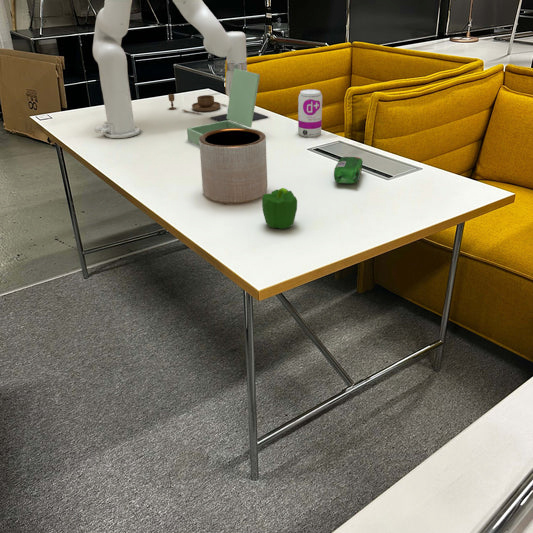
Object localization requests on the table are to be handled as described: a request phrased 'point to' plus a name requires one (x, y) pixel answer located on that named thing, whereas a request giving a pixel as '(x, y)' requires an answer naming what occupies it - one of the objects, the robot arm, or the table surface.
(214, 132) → the planter
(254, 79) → the lid
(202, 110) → the place setting
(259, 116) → the mat
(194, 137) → the lunchbox
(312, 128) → the supplement can
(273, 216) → the bell pepper
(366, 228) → the table surface
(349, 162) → the snack package
